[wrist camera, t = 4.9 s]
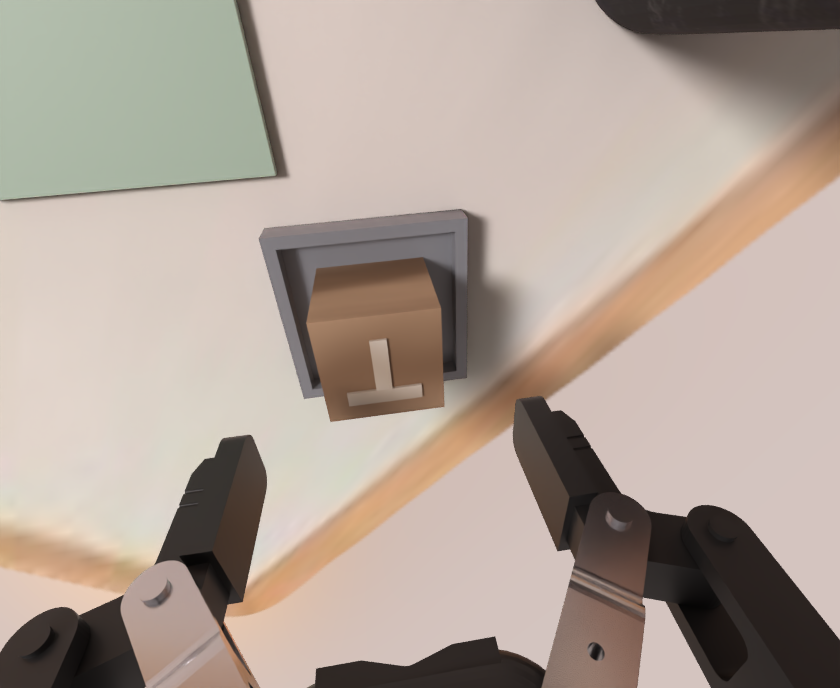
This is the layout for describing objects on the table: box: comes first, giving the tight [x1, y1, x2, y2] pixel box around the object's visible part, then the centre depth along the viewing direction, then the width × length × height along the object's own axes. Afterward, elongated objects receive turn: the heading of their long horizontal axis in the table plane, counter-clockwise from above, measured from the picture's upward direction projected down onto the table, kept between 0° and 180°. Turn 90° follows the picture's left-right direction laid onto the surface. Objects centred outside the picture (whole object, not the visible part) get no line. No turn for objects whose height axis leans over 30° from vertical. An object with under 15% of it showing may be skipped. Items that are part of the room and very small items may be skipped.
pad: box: [0, 0, 277, 200], centre depth 12 cm, size 10×10×1 cm
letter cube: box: [306, 257, 444, 422], centre depth 17 cm, size 5×4×5 cm
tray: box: [259, 209, 468, 399], centre depth 19 cm, size 8×8×1 cm
